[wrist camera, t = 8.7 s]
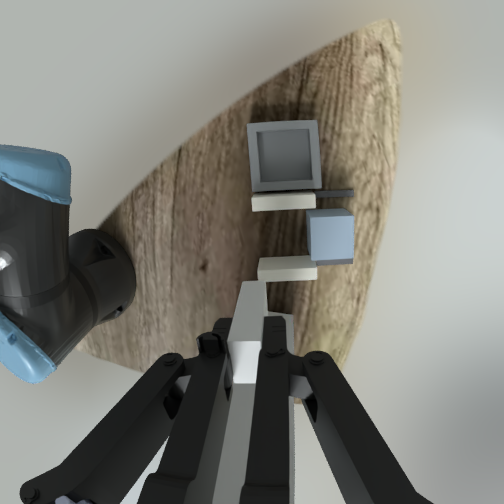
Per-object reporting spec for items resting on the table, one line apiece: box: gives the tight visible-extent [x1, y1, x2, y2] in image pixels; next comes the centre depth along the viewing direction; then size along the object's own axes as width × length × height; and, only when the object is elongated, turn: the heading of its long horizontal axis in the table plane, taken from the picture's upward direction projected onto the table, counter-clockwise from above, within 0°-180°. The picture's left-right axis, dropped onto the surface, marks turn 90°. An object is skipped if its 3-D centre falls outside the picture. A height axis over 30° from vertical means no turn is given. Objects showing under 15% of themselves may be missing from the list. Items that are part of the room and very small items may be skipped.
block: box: [306, 208, 354, 261], centre depth 33 cm, size 5×5×5 cm
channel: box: [251, 190, 317, 282], centre depth 34 cm, size 7×10×4 cm
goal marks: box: [315, 190, 354, 266], centre depth 35 cm, size 5×10×1 cm, turn 5°
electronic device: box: [212, 311, 295, 504], centre depth 27 cm, size 12×8×30 cm, turn 173°
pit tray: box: [247, 120, 322, 192], centre depth 32 cm, size 8×8×3 cm
